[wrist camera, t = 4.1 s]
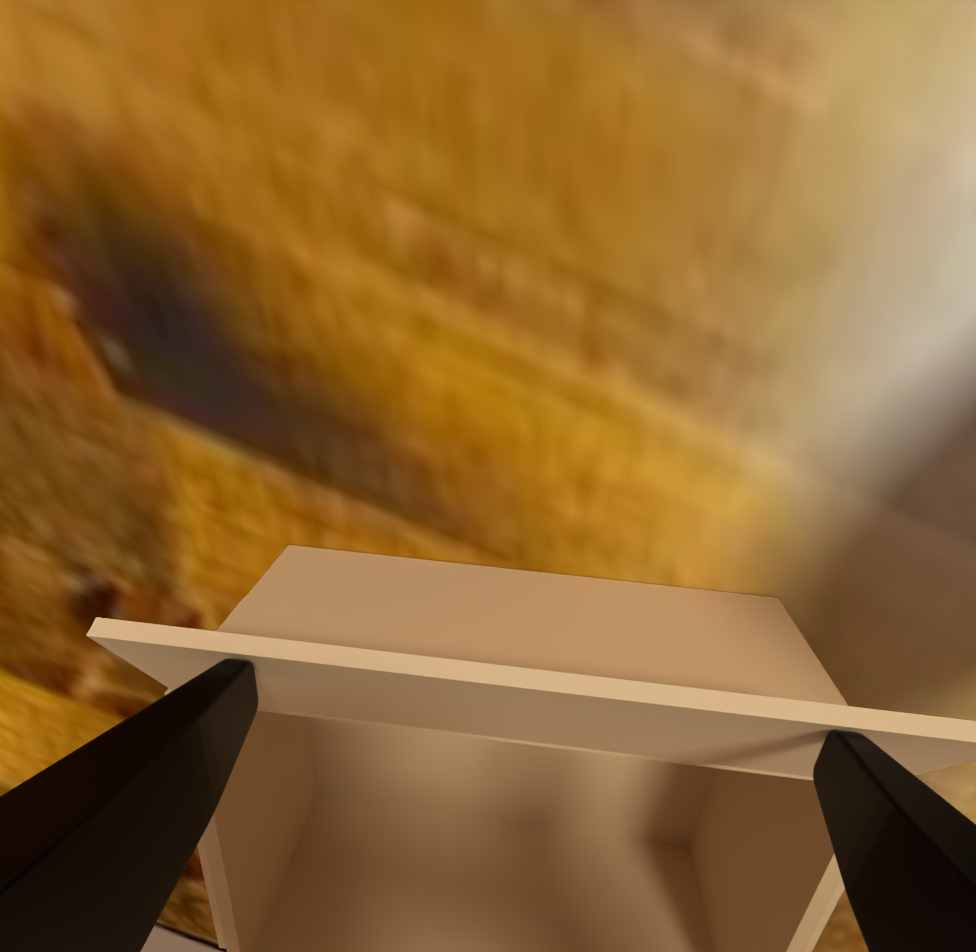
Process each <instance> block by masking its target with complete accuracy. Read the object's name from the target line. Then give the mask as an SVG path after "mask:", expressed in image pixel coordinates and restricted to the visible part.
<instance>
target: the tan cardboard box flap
mask: <svg viewBox="0 0 976 952" xmlns="http://www.w3.org/2000/svg"><path fill="white" fill-rule="evenodd" d="M86 636H88V637H89V638H91V639H93V640H94V641H96V642H97V643H99V644H100V645H102V646H104V647H105V648H107V649H108V650H110V651H111V652H113V653H115V654H116V655H118V656H119V657H121V658H122V659H124V660H126V661H127V662H129V663H130V664H132V665H133V666H135V667H136V668H138V669H140V670H141V671H143V672H144V673H146V674H147V675H149V676H151V677H152V678H154V679H155V680H157V681H158V682H160V683H162V684H163V685H165V686H166V687H168V688H169V689H171V690H175V689H176V688H178V687H179V686H181V685H183V684H184V683H186V682H188V681H189V680H191V679H192V678H194V677H196V676H197V675H199V674H201V673H202V672H204V671H206V670H207V669H209V668H210V667H212V666H214V665H215V664H217V663H219V662H220V661H222V660H224V659H227V658H233V659H241V660H248V661H251V662H252V663H253V665H254V669H255V676H256V684H257V691H258V707H259V708H267V709H275V710H283V711H291V712H299V713H307V714H315V715H323V716H331V717H339V718H347V719H355V720H363V721H371V722H379V723H387V724H395V725H403V726H411V727H419V728H427V729H435V730H443V731H451V732H459V733H467V734H475V735H483V736H490V737H498V738H506V739H514V740H522V741H530V742H538V743H546V744H554V745H562V746H570V747H578V748H586V749H594V750H602V751H610V752H618V753H626V754H634V755H642V756H650V757H658V758H666V759H674V760H682V761H690V762H698V763H706V764H714V765H721V766H729V767H737V768H745V769H753V770H761V771H769V772H777V773H785V774H793V775H801V776H809V777H813V769H814V765H815V762H816V760H817V758H818V755H819V753H820V750H821V748H822V746H823V743H824V741H825V739H826V736H827V734H828V733H829V732H830V731H832V730H843V731H851V732H858V733H861V734H863V735H864V736H866V737H867V738H869V739H870V740H871V741H872V742H874V743H875V744H876V745H877V746H879V747H880V748H881V749H882V750H884V751H885V752H886V753H887V754H888V755H890V756H891V757H892V758H893V759H895V760H896V761H897V762H898V763H900V764H901V765H902V766H903V767H905V768H906V769H907V770H908V771H910V772H911V773H912V774H913V775H915V776H917V775H921V774H925V773H929V772H933V771H937V770H941V769H945V768H949V767H953V766H957V765H961V764H965V763H968V762H972V761H976V721H970V720H962V719H953V718H945V717H936V716H928V715H920V714H911V713H903V712H894V711H886V710H877V709H869V708H860V707H852V706H843V705H835V704H826V703H818V702H809V701H801V700H792V699H784V698H776V697H767V696H759V695H750V694H742V693H733V692H725V691H716V690H708V689H699V688H691V687H682V686H674V685H665V684H657V683H648V682H640V681H632V680H623V679H615V678H606V677H598V676H589V675H581V674H572V673H564V672H555V671H547V670H538V669H530V668H521V667H513V666H504V665H496V664H487V663H479V662H471V661H462V660H454V659H445V658H437V657H428V656H420V655H411V654H403V653H394V652H386V651H377V650H369V649H360V648H352V647H343V646H335V645H327V644H318V643H310V642H301V641H293V640H284V639H276V638H267V637H259V636H250V635H242V634H233V633H225V632H216V631H208V630H199V629H191V628H183V627H174V626H166V625H157V624H149V623H140V622H132V621H123V620H115V619H106V618H98V617H96V619H95V621H94V623H93V624H92V626H91V628H90V630H89V632H88V633H87V635H86Z"/></svg>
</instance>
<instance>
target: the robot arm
mask: <svg viewBox="0 0 976 952" xmlns="http://www.w3.org/2000/svg"><path fill="white" fill-rule="evenodd" d="M257 708H258V691H257V684H256V676H255V669H254V665H253V663H252V662H251V661H248V660H241V659H233V658H227V659H224V660H222V661H220V662H219V663H217V664H215V665H214V666H212V667H210V668H209V669H207V670H206V671H204V672H202V673H201V674H199V675H197V676H196V677H194V678H192V679H191V680H189V681H188V682H186V683H184V684H183V685H181V686H179V687H178V688H176V689H175V690H173V691H171V692H170V693H168V694H166V695H165V696H163V697H162V698H160V699H158V700H157V701H155V702H153V703H152V704H150V705H149V706H147V707H145V708H144V709H142V710H140V711H139V712H137V713H136V714H134V715H132V716H131V717H129V718H127V719H126V720H124V721H123V722H121V723H119V724H118V725H116V726H114V727H113V728H111V729H109V730H108V731H106V732H105V733H103V734H101V735H100V736H98V737H96V738H95V739H93V740H92V741H90V742H88V743H87V744H85V745H83V746H82V747H80V748H79V749H77V750H75V751H74V752H72V753H70V754H69V755H67V756H66V757H64V758H62V759H61V760H59V761H57V762H56V763H54V764H53V765H51V766H49V767H48V768H46V769H44V770H43V771H41V772H40V773H38V774H36V775H35V776H33V777H31V778H30V779H28V780H27V781H25V782H23V783H22V784H20V785H18V786H17V787H15V788H13V789H12V790H10V791H9V792H7V793H5V794H4V795H2V796H0V952H140V951H141V950H142V948H143V946H144V944H145V942H146V940H147V938H148V936H149V935H150V933H151V931H152V929H153V927H154V925H155V923H156V921H157V920H158V918H159V916H160V914H161V912H162V910H163V908H164V907H165V905H166V903H167V901H168V899H169V897H170V895H171V893H172V892H173V890H174V888H175V886H176V884H177V882H178V880H179V878H180V877H181V875H182V873H183V871H184V869H185V867H186V865H187V863H188V862H189V860H190V858H191V856H192V854H193V852H194V850H195V848H196V847H197V845H198V843H199V841H200V839H201V837H202V835H203V833H204V832H205V830H206V828H207V826H208V824H209V822H210V820H211V818H212V816H213V814H214V812H215V810H216V808H217V806H218V803H219V801H220V799H221V797H222V794H223V792H224V790H225V787H226V785H227V782H228V780H229V778H230V775H231V773H232V770H233V768H234V766H235V763H236V761H237V758H238V756H239V753H240V751H241V749H242V746H243V744H244V741H245V739H246V737H247V734H248V732H249V729H250V727H251V725H252V722H253V720H254V717H255V715H256V712H257ZM813 780H814V785H815V789H816V792H817V796H818V799H819V803H820V806H821V809H822V813H823V816H824V820H825V823H826V826H827V830H828V833H829V837H830V840H831V844H832V847H833V850H834V854H835V857H836V861H837V864H838V867H839V871H840V874H841V877H842V881H843V884H844V887H845V890H846V893H847V896H848V899H849V901H850V904H851V907H852V909H853V912H854V915H855V917H856V920H857V922H858V925H859V927H860V930H861V932H862V935H863V938H864V940H865V943H866V945H867V948H868V950H869V952H976V824H974V823H973V822H972V821H971V820H969V819H968V818H967V817H966V816H965V815H963V814H962V813H961V812H960V811H958V810H957V809H956V808H955V807H953V806H952V805H951V804H950V803H948V802H947V801H946V800H945V799H943V798H942V797H941V796H940V795H938V794H937V793H936V792H935V791H933V790H932V789H931V788H930V787H928V786H927V785H926V784H925V783H923V782H922V781H921V780H920V779H918V778H917V777H916V776H915V775H913V774H912V773H911V772H910V771H908V770H907V769H906V768H905V767H903V766H902V765H901V764H900V763H898V762H897V761H896V760H895V759H893V758H892V757H891V756H890V755H888V754H887V753H886V752H885V751H884V750H882V749H881V748H880V747H879V746H877V745H876V744H875V743H874V742H872V741H871V740H870V739H869V738H867V737H866V736H864V735H863V734H861V733H858V732H851V731H843V730H832V731H830V732H829V733H828V734H827V736H826V739H825V741H824V743H823V746H822V748H821V750H820V753H819V755H818V758H817V760H816V762H815V765H814V769H813Z"/></svg>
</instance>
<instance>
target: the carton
mask: <svg viewBox="0 0 976 952" xmlns="http://www.w3.org/2000/svg"><path fill="white" fill-rule="evenodd" d="M216 632H225V633H233V634H242V635H250V636H259V637H267V638H276V639H284V640H293V641H301V642H310V643H318V644H327V645H335V646H343V647H352V648H360V649H369V650H377V651H386V652H394V653H403V654H411V655H420V656H428V657H437V658H445V659H454V660H462V661H471V662H479V663H487V664H496V665H504V666H513V667H521V668H530V669H538V670H547V671H555V672H564V673H572V674H581V675H589V676H598V677H606V678H615V679H623V680H632V681H640V682H648V683H657V684H665V685H674V686H682V687H691V688H699V689H708V690H716V691H725V692H733V693H742V694H750V695H759V696H767V697H776V698H784V699H792V700H801V701H809V702H818V703H826V704H835V705H843V706H848V704H847V703H846V701H845V700H844V698H843V697H842V695H841V694H840V692H839V691H838V689H837V688H836V686H835V685H834V683H833V681H832V680H831V678H830V677H829V675H828V674H827V672H826V671H825V669H824V668H823V666H822V665H821V663H820V661H819V660H818V658H817V657H816V655H815V654H814V652H813V651H812V649H811V648H810V646H809V645H808V643H807V642H806V640H805V638H804V637H803V635H802V634H801V632H800V631H799V629H798V628H797V626H796V625H795V623H794V622H793V620H792V618H791V617H790V615H789V614H788V612H787V611H786V609H785V608H784V606H783V605H782V603H781V602H780V600H779V599H778V598H775V597H766V596H756V595H747V594H738V593H729V592H719V591H710V590H701V589H692V588H682V587H673V586H664V585H655V584H645V583H636V582H627V581H618V580H608V579H599V578H590V577H581V576H571V575H562V574H553V573H543V572H534V571H525V570H516V569H506V568H497V567H488V566H479V565H469V564H460V563H451V562H442V561H432V560H423V559H414V558H405V557H395V556H386V555H377V554H368V553H358V552H349V551H340V550H331V549H321V548H312V547H303V546H294V545H288V546H287V548H286V549H285V550H284V551H283V552H282V554H281V555H280V556H279V557H278V558H277V560H276V561H275V562H274V563H273V565H272V566H271V567H270V568H269V569H268V571H267V572H266V573H265V574H264V575H263V577H262V578H261V579H260V580H259V581H258V583H257V584H256V585H255V586H254V587H253V589H252V590H251V591H250V592H249V593H248V595H246V596H245V597H244V598H243V600H242V601H241V602H240V603H239V604H238V606H237V607H236V608H235V609H234V610H233V612H232V613H231V614H230V615H229V616H228V618H227V619H226V620H225V621H224V622H223V624H222V625H221V626H220V627H219V628H218V630H217V631H216ZM171 691H173V690H171V689H169V688H168V690H167V691H166V692H165V693H164V695H166V694H168V693H170V692H171ZM197 848H198V852H199V857H200V861H201V866H202V871H203V875H204V880H205V885H206V889H207V894H208V898H209V903H210V908H211V912H212V917H213V921H214V926H215V931H216V935H217V940H218V944H219V948H224V949H227V952H812V950H813V948H814V946H815V944H816V943H817V941H818V939H819V937H820V935H821V933H822V931H823V929H824V927H825V925H826V923H827V921H828V920H829V918H830V916H831V914H832V912H833V910H834V908H835V906H836V904H837V902H838V900H839V898H840V897H841V895H842V893H843V891H844V889H845V887H844V884H843V881H842V877H841V874H840V871H839V867H838V864H837V861H836V857H835V854H834V850H833V847H832V844H831V840H830V837H829V833H828V830H827V826H826V823H825V820H824V816H823V813H822V809H821V806H820V803H819V799H818V796H817V792H816V789H815V785H814V780H813V777H809V776H801V775H793V774H785V773H777V772H769V771H761V770H753V769H745V768H737V767H729V766H721V765H714V764H706V763H698V762H690V761H682V760H674V759H666V758H658V757H650V756H642V755H634V754H626V753H618V752H610V751H602V750H594V749H586V748H578V747H570V746H562V745H554V744H546V743H538V742H530V741H522V740H514V739H506V738H498V737H490V736H483V735H475V734H467V733H459V732H451V731H443V730H435V729H427V728H419V727H411V726H403V725H395V724H387V723H379V722H371V721H363V720H355V719H347V718H339V717H331V716H323V715H315V714H307V713H299V712H291V711H283V710H275V709H267V708H259V707H258V708H257V712H256V715H255V717H254V720H253V722H252V725H251V727H250V729H249V732H248V734H247V737H246V739H245V741H244V744H243V746H242V749H241V751H240V753H239V756H238V758H237V761H236V763H235V766H234V768H233V770H232V773H231V775H230V778H229V780H228V782H227V785H226V787H225V790H224V792H223V794H222V797H221V799H220V801H219V803H218V806H217V808H216V810H215V812H214V814H213V816H212V818H211V820H210V822H209V824H208V826H207V828H206V830H205V832H204V833H203V835H202V837H201V839H200V841H199V843H198V845H197Z"/></svg>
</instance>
